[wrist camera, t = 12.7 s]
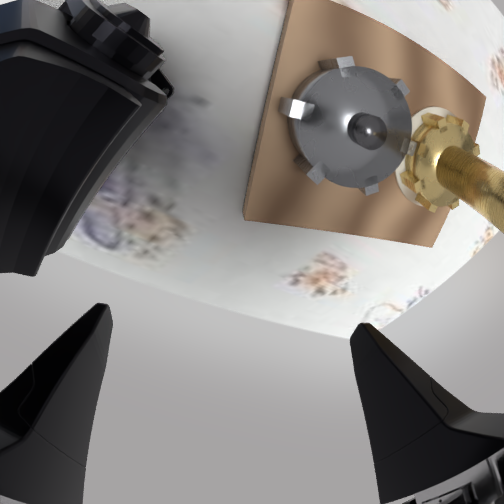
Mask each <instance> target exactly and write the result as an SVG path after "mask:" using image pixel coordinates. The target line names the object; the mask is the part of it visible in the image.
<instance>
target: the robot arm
mask: <svg viewBox="0 0 504 504" xmlns="http://www.w3.org/2000/svg"><path fill="white" fill-rule="evenodd" d="M149 33H150V19H149V18H148V17H147V16H146V15H144V14H143V13H142V12H140V11H139V10H138V9H136V8H134V7H132V6H130V5H128V4H126V3H121V4H115V5H110V6H107V5H105V4H104V3H102V2H101V1H99V0H65V2H64V3H63V4H62V5H61V6H60V8H59V9H56V8H53V7H51V6H49V5H46V4H44V3H41V2H39V1H36V0H16V1H12V2H9V3H5V4H2V5H0V273H12V272H13V273H18V274H22V275H27V276H36V274H37V272H38V270H39V267H40V265H41V263H42V260H43V258H44V256H46V255H49V254H52V253H55V252H56V251H58V250H59V249H60V248H62V247H63V246H64V244H65V242H66V241H67V240H68V239H69V237H70V236H71V234H72V232H73V231H74V229H75V227H76V225H77V224H78V222H79V221H80V219H81V217H82V216H83V214H84V212H85V211H86V209H87V208H88V206H89V205H90V203H91V202H92V200H93V199H94V197H95V196H96V194H97V193H98V191H99V190H100V188H101V187H102V185H103V184H104V182H105V181H106V180H107V178H108V177H109V176H110V174H111V173H112V171H113V170H114V169H115V167H116V166H117V165H118V163H119V162H120V161H121V159H122V158H123V157H124V156H125V154H126V153H127V152H128V151H129V149H130V148H131V147H132V146H133V144H134V143H135V142H136V141H137V140H138V138H139V137H140V136H141V135H142V134H143V132H144V131H145V130H146V129H147V128H148V127H149V126H150V124H151V123H152V122H153V121H154V120H155V119H156V118H157V117H158V116H159V114H160V113H161V112H162V111H163V109H164V107H165V106H166V105H167V99H168V98H170V97H171V96H172V95H173V93H174V88H173V86H172V85H171V83H170V82H169V81H168V79H167V78H166V77H165V75H164V74H163V73H162V71H161V70H160V69H159V67H160V66H161V65H162V64H163V63H164V62H165V61H166V60H165V58H164V56H163V55H162V53H163V52H164V50H163V49H162V48H161V46H160V45H159V44H158V43H157V42H156V41H155V40H153V39H152V38H151V37H150V36H149ZM164 88H168V89H169V93H168V94H167V95H166V94H165V93H164V92H163V89H164ZM112 327H113V320H112V316H111V311H110V307H109V305H108V304H104V303H97V304H95V305H94V306H93V307H92V308H91V309H90V310H88V311H87V312H86V313H85V314H84V315H83V316H82V317H81V318H79V319H78V320H77V321H76V322H75V323H74V324H73V325H72V326H70V328H68V329H67V330H66V331H65V332H64V333H63V334H62V335H61V336H60V337H59V338H57V339H56V340H55V341H54V342H53V343H52V344H51V345H50V346H49V347H48V348H47V349H46V350H45V351H44V352H43V353H42V354H41V355H40V356H39V357H38V358H37V359H35V360H34V361H33V362H32V364H30V365H29V366H28V367H27V368H26V369H25V370H24V371H23V372H22V373H21V374H20V375H19V376H18V377H17V378H16V379H15V380H14V381H13V382H11V383H10V384H9V385H8V386H7V387H6V388H5V389H3V390H2V391H1V392H0V504H82V503H83V490H84V479H85V471H86V468H85V467H86V461H87V454H88V448H89V442H90V436H91V431H92V425H93V420H94V415H95V410H96V405H97V401H98V396H99V392H100V388H101V384H102V380H103V376H104V372H105V368H106V363H107V357H108V350H109V344H110V338H111V333H112ZM350 346H351V352H352V358H353V365H354V372H355V377H356V381H357V386H358V390H359V394H360V398H361V402H362V407H363V411H364V416H365V420H366V424H367V430H368V435H369V439H370V445H371V450H372V455H373V461H374V467H375V473H376V479H377V485H378V492H379V499H380V504H385V503H389V502H392V501H395V500H398V499H401V498H404V497H407V496H410V495H413V494H414V496H415V497H414V498H412V499H411V500H408V501H406V502H404V503H402V504H504V414H501V413H481V412H477V411H474V410H472V409H470V408H469V407H467V406H466V405H465V404H464V403H462V402H461V401H460V400H458V399H457V398H456V397H454V396H453V395H452V394H451V393H449V392H448V391H447V390H446V389H444V388H443V387H442V386H441V385H440V384H438V383H437V382H436V381H435V380H434V379H433V378H432V377H430V375H428V374H427V373H426V372H425V371H424V370H423V369H422V368H421V367H419V366H418V365H417V364H416V363H415V362H414V361H413V360H411V359H410V358H409V357H408V356H407V355H406V354H405V353H404V352H402V351H401V350H400V349H399V348H398V347H397V346H395V345H394V344H393V343H392V342H391V341H390V340H389V339H387V338H386V337H385V336H384V335H383V334H382V333H381V332H379V331H378V330H377V329H376V328H375V327H374V326H372V325H371V324H370V323H360V324H358V326H357V327H356V329H355V331H354V332H353V334H352V335H351V338H350Z"/></svg>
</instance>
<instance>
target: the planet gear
mask: <svg viewBox="0 0 504 504" xmlns="http://www.w3.org/2000/svg"><path fill="white" fill-rule="evenodd" d="M421 118H422V121H423V124H421V125H420V126H419V127H418V128H417V129H416V131H415V132H414V134H413V135H412V137H411V140H412V141H414V142H416V143H417V145H416V149H415V152H414V155H413V156H411V155H408V154H406V157H405V170H406V171H404V172H402V173H401V174H400V177H401V181H402V184H404V185H405V186H407V187H408V188H409V189H411V190H412V191H413V192H415V193H416V194H417V193H418V194H417V196H416V198H415V200H416V201H417V202H419V203H420V204H421V205H422V206H424V207H425V208H426V209H427V210H429V211H431V212H434V213H435V211H436V209H437V207H438V206H440V207H444V206H448V207H450V208H451V209H452V210H453V209H454V208H456V207H457V206H459V199H461V200H462V201H464V202H465V203H466V204H468V205H469V206H470V207H472V208H473V209H474V210H476V211H477V212H478V213H480V214H481V215H482V216H483V217H485V218H486V219H487V220H488V221H489V222H491V223H492V224H493V225H494V226H495V227H497V228H498V229H499V230H500V231H501V232H503V233H504V171H502V170H501V169H499V168H497V167H495V166H494V165H492V164H490V163H488V162H487V161H485V160H483V159H481V158H479V157H477V156H478V155H479V154H480V150H479V145H478V144H476V143H474V142H473V140H472V138H471V136H470V134H469V133H468V132H467V131H468V128H469V124H468V123H467V122H466V121H464V120H463V119H460V118H457V117H454V116H451V115H448V114H447V117H446V119H445V117H442V116H439V115H435V114H432V113H429V112H428V113H426V114H424V115H422V116H421Z"/></svg>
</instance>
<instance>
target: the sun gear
mask: <svg viewBox="0 0 504 504" xmlns="http://www.w3.org/2000/svg"><path fill="white" fill-rule="evenodd" d="M318 64H319V67H320V70H319V71H317V72H314V73H313V74H311V75H309V76H308V77H307V78H305V79H304V80H303V81H302V82H301V83H300V84H299V86H298V87H297V88H296V90H295V91H294V93H293V95H292V97H291V99H290V98H285V97H281V99H280V103H279V107H278V112H280V113H283V114H285V115H287V126H288V131H289V135H290V138H291V141H292V143H293V145H294V147H295V148H296V150H297V151H298V152H299V155H298V156H297V157H296V158H295V159H294V160H293V161H294V162H295V163H296V164H297V165H298V166H299V167H300V168H301V169H302V171H303V172H304V173H305V174H306V175H307V176H308V177H309V178H310V179H311V180H312V181H314V182H315V183H316V184H317V185H318V184H319V183H320V182H321V181H322V180H323V179H324V178H326V179H328V180H329V181H331V182H333V183H335V184H337V185H340V186H343V187H349V188H358V189H359V190H360V191H361V192H362V193H363V194H364V195H366V196H367V195H370V194H373V193H376V192H379V188H378V183H379V182H381V181H383V180H384V179H386V178H387V177H388V176H390V175H391V174H392V173H393V172H394V171H395V170H396V169H397V168H398V167H399V165H400V164H401V162H402V161H403V159H404V157H405V155H406V154H408V155H411V156H413V155H414V152H415V149H416V145H417V143H416V142H414V141H412V140H411V135H412V119H411V114H410V110H409V106H408V103H407V101H406V99H405V96H406V95H407V94H408V93H409V92H410V90H409V89H408V88H407V86H406V85H405V83H404V82H403V80H402V79H397V78H388V77H387V76H385V75H384V74H382V73H380V72H378V71H376V70H373V69H371V68H366V67H360V66H355V64H354V60H353V57H352V56H348V57H340V58H333V59H327V60H321V61H318Z"/></svg>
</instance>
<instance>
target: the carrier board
mask: <svg viewBox="0 0 504 504" xmlns="http://www.w3.org/2000/svg"><path fill="white" fill-rule="evenodd" d="M348 56H352V57H353V60H354V64H355V66H360V67H366V68H371V69H373V70H376V71H378V72H380V73H382V74H384V75H385V76H387V77H388V78H397V79H402V80H403V82H404V83H405V85H406V86H407V88H408V89H409V90H410V92H409V93H408V94H407V95H406V96H405V99H406V101H407V103H408V106H409V110H410V114H411V119H412V135H413V134H414V132H415V131H416V129H417V128H418V127H419V126H420V125H421V124H423V121H422V118H421V116H422V115H424V114H426V113H428V112H429V113H432V114H435V115H439V116H442V117H445V119H446V117H447V114H448V115H451V116H454V117H457V118H460V119H463V120H464V121H466V122H467V123H468V124H469V128H468V131H467V132H468V133H469V134H470V136H471V138H472V140H473V142H474V143H475V140H476V137H477V133H478V130H479V126H480V122H481V118H482V114H483V109H484V105H485V100H486V97H485V96H484V95H483V94H482V93H481V92H480V91H479V90H478V89H477V88H476V87H474V86H473V85H472V84H471V83H470V82H469V81H468V80H466V79H465V78H464V77H463V76H462V75H460V74H459V73H458V72H457V71H455V70H454V69H453V68H451V67H450V66H449V65H448V64H446V63H445V62H443V61H442V60H441V59H439V58H438V57H437V56H435V55H434V54H432V53H431V52H429V51H428V50H426V49H425V48H423V47H422V46H420V45H419V44H417V43H416V42H414V41H412V40H411V39H409V38H407V37H406V36H404V35H402V34H401V33H399V32H397V31H395V30H394V29H392V28H390V27H388V26H386V25H384V24H382V23H380V22H378V21H376V20H374V19H372V18H370V17H368V16H366V15H364V14H362V13H359V12H357V11H355V10H353V9H350V8H348V7H346V6H343V5H341V4H338V3H335V2H333V1H330V0H290V1H289V5H288V9H287V13H286V17H285V21H284V25H283V29H282V33H281V38H280V42H279V46H278V50H277V55H276V59H275V63H274V68H273V72H272V76H271V81H270V85H269V89H268V94H267V98H266V103H265V107H264V112H263V116H262V121H261V126H260V130H259V135H258V139H257V144H256V149H255V154H254V158H253V163H252V168H251V173H250V177H249V182H248V187H247V192H246V197H245V202H244V207H243V215H244V220H247V221H255V222H263V223H271V224H279V225H287V226H295V227H302V228H310V229H317V230H324V231H331V232H338V233H345V234H352V235H358V236H365V237H371V238H378V239H384V240H390V241H396V242H402V243H408V244H414V245H420V246H425V247H431V248H432V247H433V245H434V243H435V241H436V239H437V237H438V235H439V233H440V231H441V228H442V226H443V224H444V222H445V220H446V218H447V215H448V213H449V211H450V209H451V208H450V207H448V206H444V207H440V206H438V207H437V209H436V211H435V213H434V212H431V211H429V210H427V209H426V208H425V207H424V206H422V205H421V204H420V203H419V202H417V201H416V200H415V198H416V196H417V194H418V193H417V194H416V193H415V192H413V191H412V190H411V189H409V188H408V187H407V186H405V185H404V184H402V181H401V177H400V174H401V173H402V172H404V171H406V170H405V157H406V155H405V157H404V159H403V161H402V162H401V164H400V165H399V167H398V168H397V169H396V170H395V171H394V172H393V173H392V174H391V175H390V176H388V177H387V178H386V179H384V180H383V181H381V182H379V183H378V188H379V192H376V193H373V194H370V195H367V196H366V195H364V194H363V193H362V192H361V191H360V190H359V189H358V188H349V187H343V186H340V185H337V184H335V183H333V182H331V181H329V180H328V179H326V178H324V179H323V180H322V181H321V182H320V183H319V184H318V185H317V184H316V183H315V182H314V181H312V180H311V179H310V178H309V177H308V176H307V175H306V174H305V173H304V172H303V171H302V169H301V168H300V167H299V166H298V165H297V164H296V163H295V162H294V161H293V160H294V159H295V158H296V157H297V156H298V155H299V152H298V151H297V150H296V148H295V147H294V145H293V143H292V141H291V138H290V135H289V131H288V126H287V115H285V114H283V113H280V112H278V107H279V103H280V99H281V97H285V98H290V99H291V97H292V95H293V93H294V91H295V90H296V88H297V87H298V86H299V84H300V83H301V82H302V81H303V80H304V79H305V78H307V77H308V76H309V75H311V74H313V73H314V72H317V71H319V70H320V67H319V64H318V61H321V60H327V59H333V58H340V57H348ZM412 135H411V137H412Z"/></svg>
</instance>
